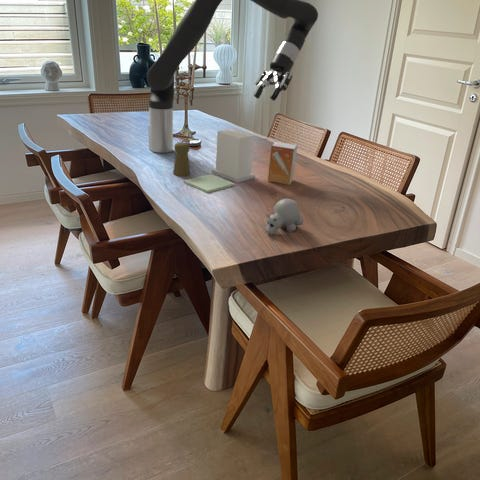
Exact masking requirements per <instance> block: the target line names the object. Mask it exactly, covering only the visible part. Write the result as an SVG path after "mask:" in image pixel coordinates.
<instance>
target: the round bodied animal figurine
mask: <svg viewBox="0 0 480 480" xmlns="http://www.w3.org/2000/svg"><path fill="white" fill-rule="evenodd" d="M300 208H301V207H300V205H299V204H298V202H297V201H296V200H294V199H292V198H291V199H290V198H282V199H280V200H279V201H278V202H276V203H275V205H274V207H273V214H271V215H270V214H269V213H266V215H265V216H266V217H267V219H266V223H267V225H265V227H264V230H265V232H266V233H267V234H268V235H269V236H270V235H271V236H273V235H275V234H276V232H277V230H279V229H283V228H286V231H287V232H289V233H291V232H295V231H296V230H297V227H296V226H301V225H303V224H304V219H303V216H302V215H301V209H300Z"/></svg>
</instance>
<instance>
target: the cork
mask: <svg viewBox="0 0 480 480" xmlns="http://www.w3.org/2000/svg"><path fill="white" fill-rule="evenodd" d="M173 147H174V148H173V149H174V151H175V158H174V165H173V175H174V176H177V177H188V176H190V175H191V170H190V169H191V168H190V160H189V152H190V145H189V144H188V143H186V142H183V141H182V142H177V143H175V145H174V146H173Z"/></svg>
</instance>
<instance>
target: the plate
mask: <svg viewBox="0 0 480 480" xmlns="http://www.w3.org/2000/svg"><path fill="white" fill-rule="evenodd" d="M183 183H184V184H186V185H188V186H191V187H193V188H196V189H197V190H199V191H202V192H205V193H207V194H209V193H213V192H216V191H220V190H223V189H226V188H227V189H228V188H229V187H234V186H235V182H234V183H233V181H232V182H231V181H230V180H229V181H228V179H225V178H223V177H222V178H221V177H220V176H218V175H217V176H216V175H215V174H213V173H210V174H205V175H200V176H197V177H192V178H188V179H185V180H183Z"/></svg>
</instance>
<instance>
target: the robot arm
mask: <svg viewBox="0 0 480 480" xmlns="http://www.w3.org/2000/svg"><path fill="white" fill-rule="evenodd" d="M250 1H251V2H252V3H254V4H255V5H258V7H261V8H263V9H264V10H266V11H267V12H269V13H271V14H273V15H275V16H277V17H279V18H281V19H283V20H285V19H288V18H292V19H293V21H292V24H291V26H290V28H289V30H288V31H287V32H286V34H285V37H284V38H283V40H282V42H281V44H280V45H279V46H278V48H277V50H276V52H275V54H274V55H273V57H272V60H270V61H271V62H270V64H269V67H270V68H269V70H268V71H265V69H263V70H262V71H261V72H260V74H259V76H258V77H257V78H256V81H255V83H254V85H255V86H257V88H256V89H255V90H254V91H255V92H254V94H253V96H254V97H255V98H256V99H258V100H259V99H260V97H261V96H262V93H263V92H264V90H265V89H266V88H267V87H270V86H275V87H274V89H273V90H272V92H271V94H270V97H269V99H271V100H272V101H273V102H274V101H276V100H277V98H278V96H279V94H280V93H282V92H283V91H287V90H288V87H289V85H290V83H291V81H292V78H293V75H292V74H291V73H290V72H291V70H292V69H293V66H294V65H295V63H296V61H297V59H298V56H299V54H300V52H301V49H302V48H303V46H304V44H305V41H306V38H307V36H308V35H309V33H310V31H311V29H312V28H313V26H315V24H316V22H317V21H318V18H319V13H318V10H317V8H316V7H315V6H314V5H313V4H312V3H309V2H306V1H304V0H250ZM222 2H223V0H194V1H193V3H191V5H190V6H189V7H188V9H187V10H186V12H185V13H184V15H183V17H182V18H181V20H180V21H179V23H178V25H177V26H176V28H175V30H174V31H173V33H172V34H171V37H170V39H169V41H168V43H167V44H166V46H165V48H164V49H163V51H162V52H161V54H160V55H159V57H158V58H157V59H156V61H155V62H154V63H153V64H152V66H151V67H149V69H148V71H147V73H146V82H147V84H148V87H150V95H149V96H150V97H149V100H148V114H149V118H148V119H149V125H148V149H149V150H150V151H151V152H152V153H153V152H154V153H158V154H159V153H160V154H161V153H163V154H166V153H171V152H173V149H174V148H173V147H174V133H173V132H174V111H173V109H174V99H175V97H174V96H175V74H176V72H177V70H178V68H179V67H180V64H181V63H182V62H183V61H184V60H185V59H186V58H187V57H188V55H190V53H191V52H192V51H193V50H194V49H195V47H196V46H197V45H198V44H199V42H200V41H201V39H202V37H204V34H205V33H206V31H207V30H208V28H209V26H210V24H211V22H212V20H213V17H214V15H215V13H216V11H217V9H218V7H219V6H220V5H221V3H222Z"/></svg>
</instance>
